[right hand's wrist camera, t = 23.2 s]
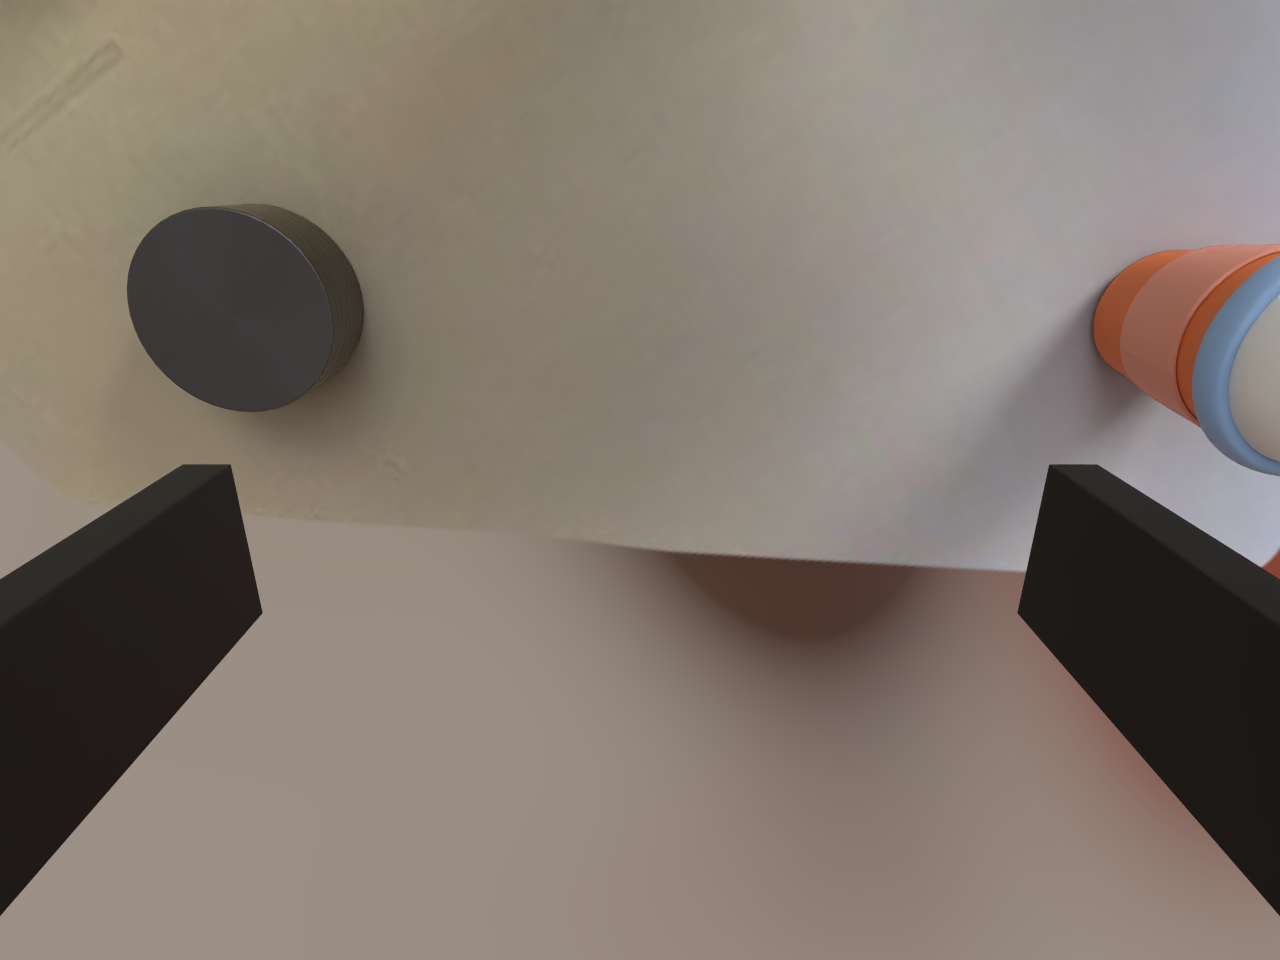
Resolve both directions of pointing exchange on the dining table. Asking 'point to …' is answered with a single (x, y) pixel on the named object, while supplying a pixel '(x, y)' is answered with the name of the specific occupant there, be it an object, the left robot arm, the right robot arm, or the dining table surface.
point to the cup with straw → (1203, 342)
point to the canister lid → (244, 304)
